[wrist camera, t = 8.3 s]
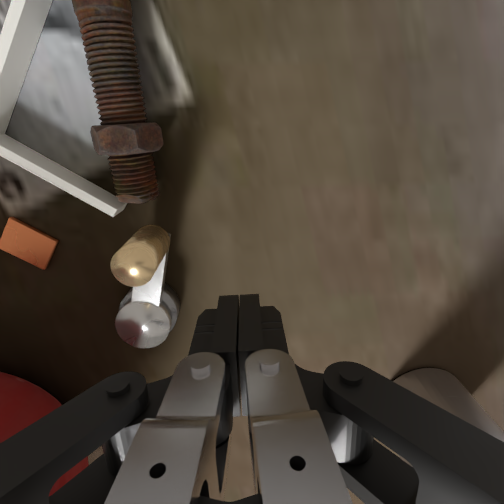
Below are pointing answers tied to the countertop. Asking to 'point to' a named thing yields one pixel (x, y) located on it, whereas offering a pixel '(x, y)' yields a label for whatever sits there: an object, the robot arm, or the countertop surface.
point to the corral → (6, 94)
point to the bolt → (119, 98)
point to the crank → (143, 287)
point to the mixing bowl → (28, 414)
